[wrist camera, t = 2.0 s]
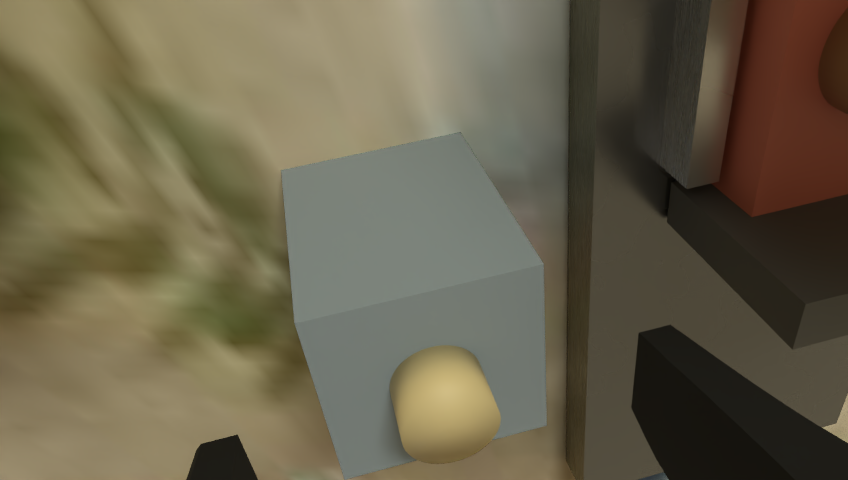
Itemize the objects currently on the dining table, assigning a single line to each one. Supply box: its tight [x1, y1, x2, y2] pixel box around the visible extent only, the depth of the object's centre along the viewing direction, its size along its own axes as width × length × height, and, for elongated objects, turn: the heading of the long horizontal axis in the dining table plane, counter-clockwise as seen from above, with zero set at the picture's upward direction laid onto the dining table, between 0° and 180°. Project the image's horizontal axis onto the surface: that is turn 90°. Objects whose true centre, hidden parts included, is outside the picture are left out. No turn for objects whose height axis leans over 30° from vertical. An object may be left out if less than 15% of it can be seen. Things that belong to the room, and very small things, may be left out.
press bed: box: [566, 0, 848, 480], centre depth 18 cm, size 20×10×3 cm, turn 9°
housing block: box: [281, 132, 547, 479], centre depth 14 cm, size 4×4×7 cm
